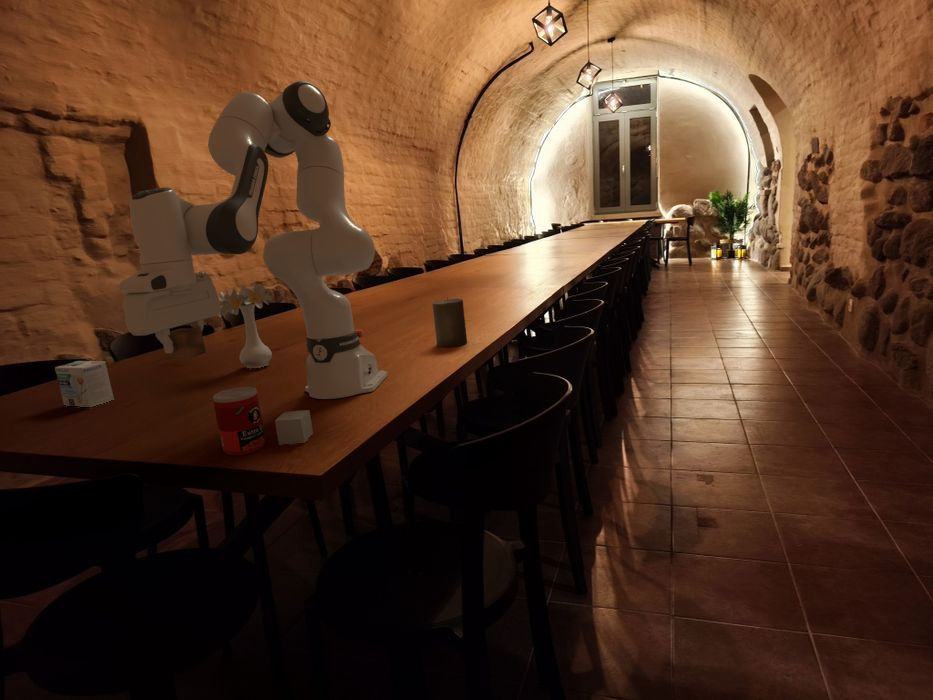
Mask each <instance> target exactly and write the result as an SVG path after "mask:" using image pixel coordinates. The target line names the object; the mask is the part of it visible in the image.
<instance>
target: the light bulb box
mask: <svg viewBox="0 0 933 700" xmlns="http://www.w3.org/2000/svg"><path fill="white" fill-rule="evenodd" d="M54 371H55V373H56V374H55V375H56V378H57V382H58V385H59V388H60V389H59V390H60V393H61V398H62V403H63V405H66V406H65V407H67V406H80V407H93V406H96V405H99V404H102V405H104V404H103V403H105V404H107V403H106V402H108V403H110V402H109V401H111V400H114V401H115V398H114V393H113V389H112V386H111V385H112V384H111V382H110V380H111V379H110V377H109V372H108V368H107V364H106V361H103V360H101V361H100V360H99V361H97V360H96V361H94V360H89V361H88V360H76V361H73V362H69V363H66V364H62V365H59V366H55V367H54ZM111 402H112V401H111ZM99 406H100V405H99ZM80 407H79V408H80ZM96 407H97V406H96Z"/></svg>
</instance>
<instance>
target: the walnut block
mask: <svg viewBox="0 0 933 700" xmlns="http://www.w3.org/2000/svg"><path fill="white" fill-rule="evenodd" d="M168 336H169V338H170V339H171V341H172V342H176V343H177V348H178V350H177V351H176V352H173V353H166V352H165V350H164V349H163V351H164V355H165V359H166V361H167V360H168V361H169V360H189V359H191V358H195V357H197V356H200V355H203V354H206V353H207V351H206V347H205V341H204V337H203V331H201V328H193V327H190V328H189V327H187V328H178V329H174V330H171V331H170V335H168Z"/></svg>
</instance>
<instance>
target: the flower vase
mask: <svg viewBox="0 0 933 700" xmlns="http://www.w3.org/2000/svg"><path fill="white" fill-rule="evenodd" d="M219 298H220V299H219V301H220V305H221V312H220V315H219V316H222V317H223V316H225V315H226V314H227V313H229V314H231V315H235V316H239V309H240V311H241V314H242V316H243V321H244V327H245V335H246V339H245V344H244V346H243V348H242V350H241V351H240V354H239V361H240V362H241V363H242V364H243V365H245V366H246V369H248V368H250V369H249V370H252V369H251V368H259V369H262V368H261V367H263V368H265V367H264V366H266V367H267V366H269V362H270V360H271V359H272V356H273V353H272V351H271V349H270V348H269V347H268V346H267V345H266V344H264V343H263V342H262V339H261V338H260V336H259V333H258V328H257V323H256V319H255V307H257V308H258V309H262V308H263V307H264V304H263V302H264V303H265V304H266V305H270V304H269V301H273V297H271V295H270V294H269V293H266V287H265V286H264V285H261V284H260V283H258V284H257V283H253V289H252V290H251V289H250V288H248V287H247V286H246V285H241V287H240V290H239V292H237V290H236V288H233V289H232V292H231V294H230V290H229V288H227V289H226V292H225V293H224V292H223V291H220V292H219Z"/></svg>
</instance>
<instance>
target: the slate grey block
mask: <svg viewBox="0 0 933 700" xmlns="http://www.w3.org/2000/svg"><path fill="white" fill-rule="evenodd" d="M310 411H311V410H309V409H307V410H306V409H303V410H292V411H284V412H283V413H282V414H280V415H279V416H278V417H277V418H276V419H275V420H274V424H275V429H276V435H277V440H278V445H279V446H284V445H283V444H289V445H297V444H296V443H305V442H306V441H307V442H308V441H309V439H310V438H311V437H310V436H311V435H312V436H313V435H314V430H313V424H312V419H311V412H310ZM309 437H310V438H309ZM308 438H309V439H308ZM307 442H306V443H307ZM294 443H295V444H294ZM306 443H305V444H306Z"/></svg>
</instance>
